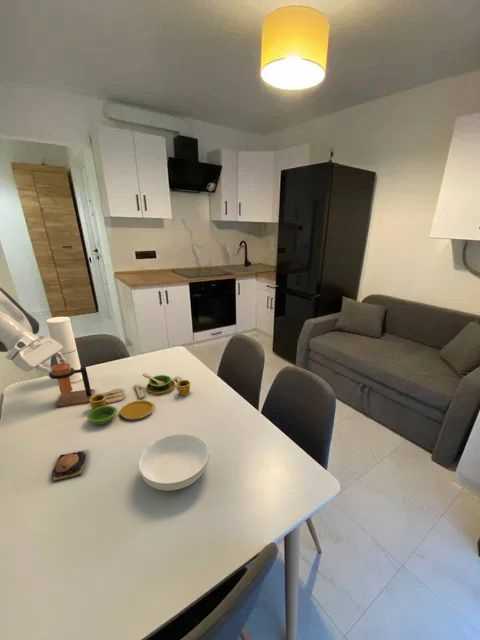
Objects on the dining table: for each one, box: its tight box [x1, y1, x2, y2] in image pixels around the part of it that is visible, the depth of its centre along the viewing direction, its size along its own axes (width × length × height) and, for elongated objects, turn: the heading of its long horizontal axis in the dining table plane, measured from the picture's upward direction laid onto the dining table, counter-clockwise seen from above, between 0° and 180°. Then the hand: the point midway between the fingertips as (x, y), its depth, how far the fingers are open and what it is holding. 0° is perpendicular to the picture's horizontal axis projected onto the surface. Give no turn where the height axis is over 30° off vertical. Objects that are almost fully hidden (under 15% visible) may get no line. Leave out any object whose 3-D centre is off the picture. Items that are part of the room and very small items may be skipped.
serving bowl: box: [137, 433, 210, 492], centre depth 90 cm, size 21×21×7 cm
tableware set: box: [86, 372, 191, 426], centre depth 125 cm, size 41×28×6 cm
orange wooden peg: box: [49, 363, 73, 394], centre depth 120 cm, size 7×7×12 cm
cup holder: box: [48, 365, 94, 408], centre depth 122 cm, size 13×10×14 cm
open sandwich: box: [52, 450, 87, 482], centre depth 91 cm, size 11×8×4 cm
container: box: [46, 316, 83, 384], centre depth 135 cm, size 9×9×30 cm
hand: (58, 366), depth 118 cm, fingers open, 8 cm apart
